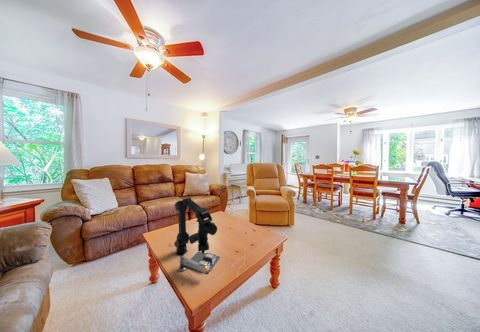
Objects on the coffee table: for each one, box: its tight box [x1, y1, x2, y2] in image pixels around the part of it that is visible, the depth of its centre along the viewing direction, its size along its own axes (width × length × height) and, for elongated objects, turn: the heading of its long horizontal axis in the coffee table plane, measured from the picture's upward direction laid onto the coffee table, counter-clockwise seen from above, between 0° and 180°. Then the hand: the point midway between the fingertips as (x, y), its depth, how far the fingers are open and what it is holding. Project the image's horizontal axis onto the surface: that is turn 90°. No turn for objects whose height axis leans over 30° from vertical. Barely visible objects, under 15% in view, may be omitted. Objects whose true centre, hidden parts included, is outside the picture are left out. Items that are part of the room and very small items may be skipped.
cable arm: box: [183, 257, 207, 274], centre depth 94 cm, size 18×2×3 cm, turn 65°
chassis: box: [184, 250, 221, 275], centre depth 106 cm, size 18×16×3 cm
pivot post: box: [177, 254, 187, 273], centre depth 99 cm, size 5×5×8 cm
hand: (202, 253), depth 100 cm, fingers closed
